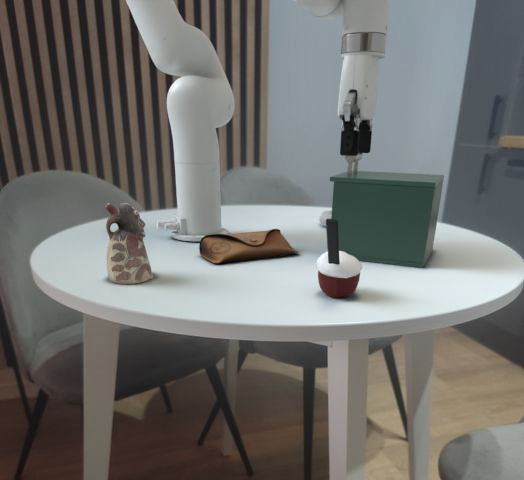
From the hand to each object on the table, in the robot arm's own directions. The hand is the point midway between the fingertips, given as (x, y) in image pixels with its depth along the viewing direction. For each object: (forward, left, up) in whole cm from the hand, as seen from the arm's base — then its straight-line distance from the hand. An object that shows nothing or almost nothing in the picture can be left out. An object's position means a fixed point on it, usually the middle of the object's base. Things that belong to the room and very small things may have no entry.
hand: (355, 154), depth 93 cm
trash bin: (+5, -5, -18) cm, 20 cm away
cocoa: (-17, -24, -18) cm, 35 cm away
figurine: (-44, -4, -18) cm, 48 cm away
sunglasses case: (-20, +3, -18) cm, 27 cm away
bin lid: (+5, -5, -4) cm, 8 cm away
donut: (+12, +23, -18) cm, 32 cm away
